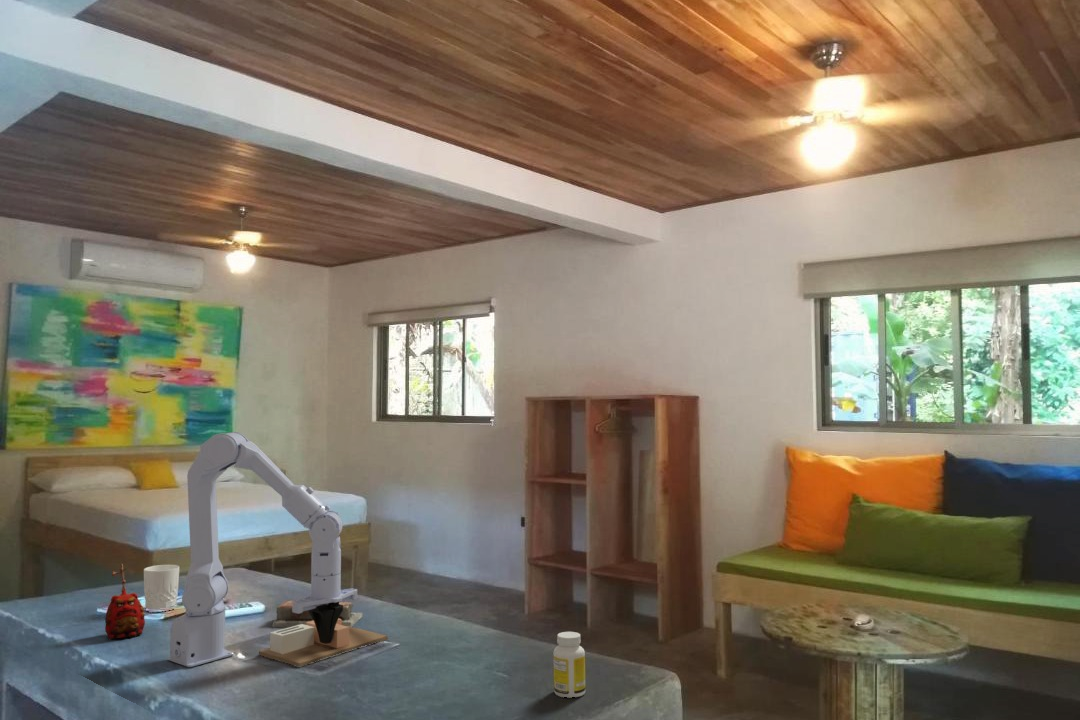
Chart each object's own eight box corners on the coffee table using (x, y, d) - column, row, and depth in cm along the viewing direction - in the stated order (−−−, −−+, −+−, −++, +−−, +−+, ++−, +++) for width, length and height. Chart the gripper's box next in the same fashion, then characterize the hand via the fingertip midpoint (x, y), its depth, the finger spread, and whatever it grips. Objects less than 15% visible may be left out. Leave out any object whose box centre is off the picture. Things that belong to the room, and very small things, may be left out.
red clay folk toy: (108, 642, 167) (110, 570, 168) (101, 635, 173) (102, 565, 173) (147, 636, 172) (149, 565, 173) (139, 628, 178) (141, 560, 178)
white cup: (145, 606, 197) (146, 565, 197) (180, 604, 199) (181, 563, 200) (140, 615, 189) (141, 572, 190) (176, 612, 192) (177, 569, 192)
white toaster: (282, 654, 156) (282, 635, 157) (270, 650, 159) (270, 631, 159) (314, 644, 162) (314, 626, 163) (301, 641, 165) (301, 623, 165)
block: (337, 648, 160) (337, 629, 160) (305, 639, 166) (305, 621, 166) (360, 641, 164) (360, 623, 165) (329, 632, 170) (329, 615, 170)
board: (299, 667, 151) (299, 663, 151) (258, 655, 158) (258, 650, 158) (387, 639, 168) (387, 635, 168) (346, 629, 176) (346, 625, 176)
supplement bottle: (584, 687, 140) (583, 630, 140) (586, 698, 134) (586, 639, 135) (552, 687, 139) (552, 630, 140) (554, 699, 134) (554, 639, 135)
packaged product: (271, 607, 178) (287, 596, 188) (271, 629, 178) (287, 617, 188) (351, 607, 178) (363, 597, 188) (351, 629, 177) (363, 618, 187)
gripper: (308, 582, 152) (307, 655, 152) (367, 569, 164) (367, 637, 163) (285, 577, 156) (285, 648, 156) (344, 565, 168) (344, 631, 167)
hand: (325, 642), depth 160 cm, fingers closed
